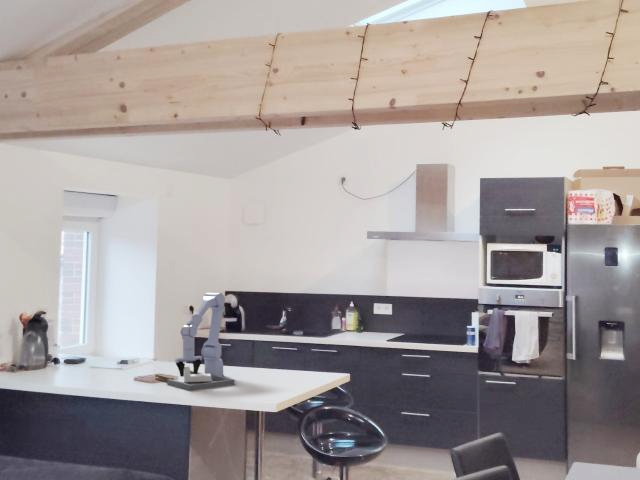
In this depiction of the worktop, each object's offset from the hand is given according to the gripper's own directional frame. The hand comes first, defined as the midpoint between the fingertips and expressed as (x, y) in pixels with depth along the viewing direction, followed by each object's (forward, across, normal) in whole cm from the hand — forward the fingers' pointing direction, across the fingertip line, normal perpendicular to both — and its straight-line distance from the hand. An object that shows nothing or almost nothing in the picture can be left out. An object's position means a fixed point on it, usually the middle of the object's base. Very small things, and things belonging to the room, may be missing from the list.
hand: (188, 375), depth 388 cm
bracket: (+3, -2, +5) cm, 6 cm away
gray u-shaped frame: (+3, 0, +11) cm, 12 cm away
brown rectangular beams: (+3, 0, -9) cm, 9 cm away
